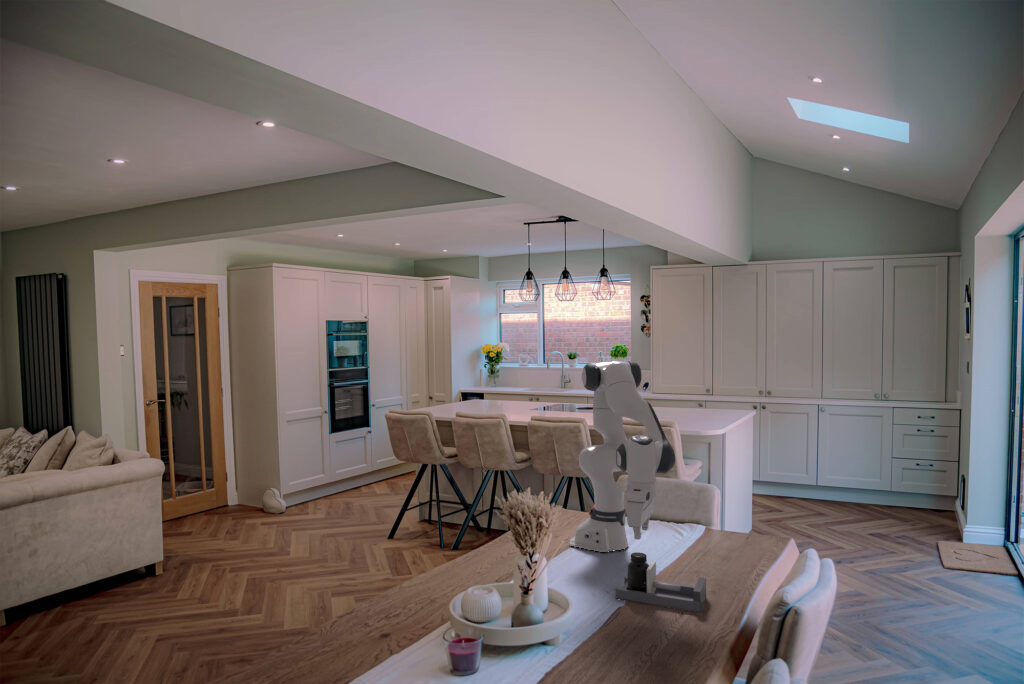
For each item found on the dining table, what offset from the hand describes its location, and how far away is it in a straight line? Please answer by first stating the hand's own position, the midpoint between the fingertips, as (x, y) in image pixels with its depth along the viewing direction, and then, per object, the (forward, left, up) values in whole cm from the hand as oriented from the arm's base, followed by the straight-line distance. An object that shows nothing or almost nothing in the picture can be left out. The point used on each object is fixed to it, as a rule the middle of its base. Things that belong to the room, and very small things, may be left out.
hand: (641, 534), depth 196 cm
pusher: (+7, 0, -18) cm, 20 cm away
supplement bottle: (-1, 0, -19) cm, 19 cm away
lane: (+6, 0, -19) cm, 20 cm away
